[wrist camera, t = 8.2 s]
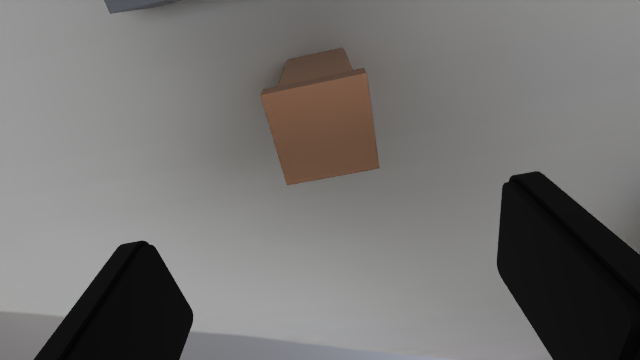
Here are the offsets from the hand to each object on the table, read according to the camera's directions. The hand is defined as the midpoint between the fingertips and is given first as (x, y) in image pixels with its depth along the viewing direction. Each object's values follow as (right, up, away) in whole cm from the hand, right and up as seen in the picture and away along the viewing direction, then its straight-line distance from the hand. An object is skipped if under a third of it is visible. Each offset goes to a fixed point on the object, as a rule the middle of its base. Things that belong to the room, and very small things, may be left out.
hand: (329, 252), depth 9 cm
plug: (0, +9, +16) cm, 18 cm away
